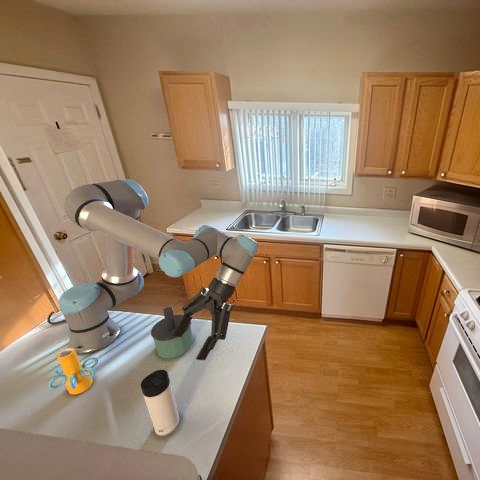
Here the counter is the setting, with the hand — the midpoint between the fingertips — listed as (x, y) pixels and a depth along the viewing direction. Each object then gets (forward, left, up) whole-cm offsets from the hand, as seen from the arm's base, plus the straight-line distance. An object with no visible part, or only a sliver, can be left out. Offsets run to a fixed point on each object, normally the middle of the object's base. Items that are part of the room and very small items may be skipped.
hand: (188, 347), depth 74 cm
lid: (-26, +1, -12) cm, 29 cm away
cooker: (-26, +1, -21) cm, 34 cm away
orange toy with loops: (-28, -27, -21) cm, 44 cm away
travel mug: (+4, -10, -21) cm, 24 cm away
